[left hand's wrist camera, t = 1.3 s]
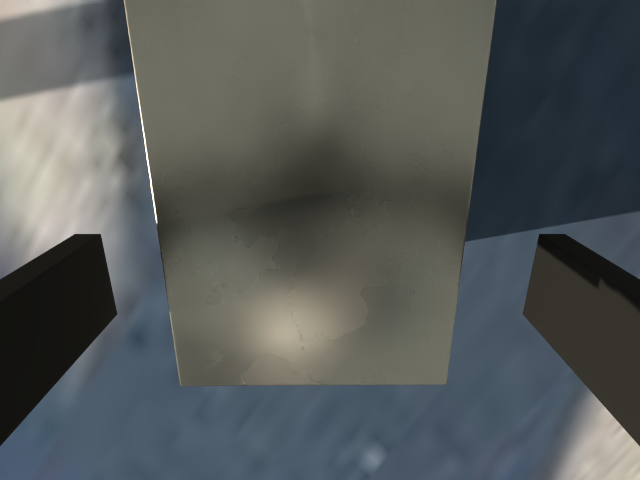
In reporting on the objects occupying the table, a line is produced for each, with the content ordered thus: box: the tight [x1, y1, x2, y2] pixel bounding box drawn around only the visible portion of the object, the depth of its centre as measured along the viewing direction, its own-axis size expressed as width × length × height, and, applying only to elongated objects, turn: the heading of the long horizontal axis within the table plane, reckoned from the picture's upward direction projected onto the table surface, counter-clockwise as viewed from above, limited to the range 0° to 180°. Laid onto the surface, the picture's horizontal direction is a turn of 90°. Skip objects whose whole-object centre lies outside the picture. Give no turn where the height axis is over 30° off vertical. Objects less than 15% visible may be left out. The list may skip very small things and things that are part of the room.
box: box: [124, 0, 497, 386], centre depth 15 cm, size 21×9×11 cm, turn 0°
